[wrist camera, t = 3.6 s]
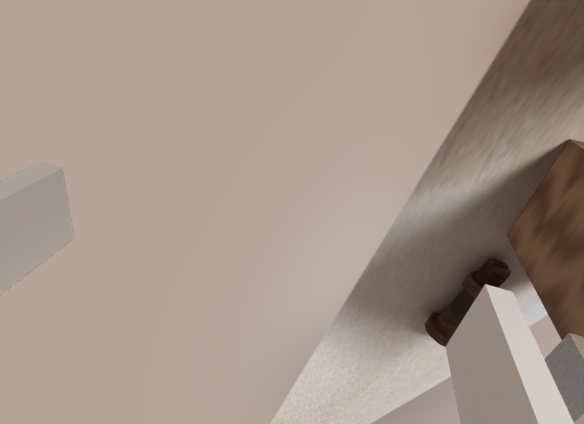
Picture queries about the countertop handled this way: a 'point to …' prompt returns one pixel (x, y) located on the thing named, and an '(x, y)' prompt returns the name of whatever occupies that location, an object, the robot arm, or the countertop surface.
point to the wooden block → (556, 240)
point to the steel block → (569, 374)
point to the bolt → (465, 300)
